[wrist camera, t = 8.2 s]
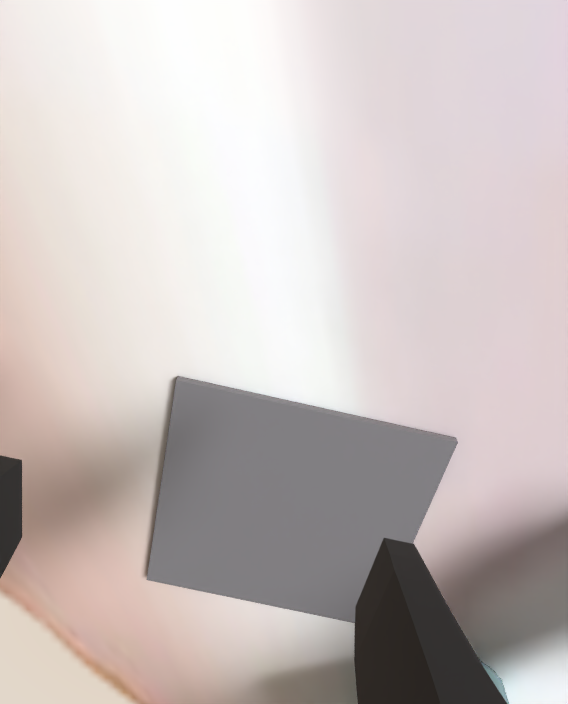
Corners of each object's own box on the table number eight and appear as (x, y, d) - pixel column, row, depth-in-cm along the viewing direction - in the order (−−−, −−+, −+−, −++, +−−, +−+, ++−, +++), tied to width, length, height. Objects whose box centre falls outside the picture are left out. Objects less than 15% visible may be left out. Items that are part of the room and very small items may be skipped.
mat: (456, 437, 21) (457, 442, 21) (374, 621, 26) (375, 627, 26) (177, 376, 21) (176, 379, 20) (148, 574, 25) (146, 579, 25)
